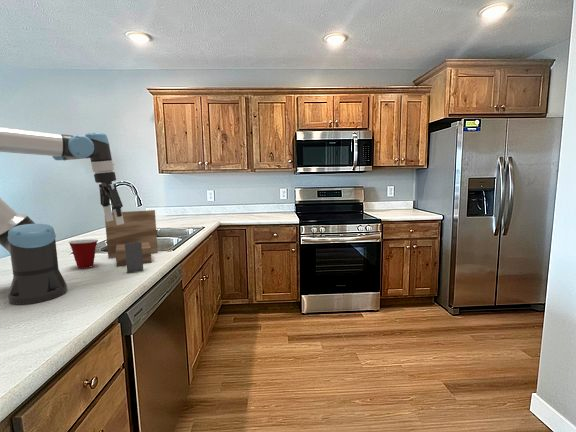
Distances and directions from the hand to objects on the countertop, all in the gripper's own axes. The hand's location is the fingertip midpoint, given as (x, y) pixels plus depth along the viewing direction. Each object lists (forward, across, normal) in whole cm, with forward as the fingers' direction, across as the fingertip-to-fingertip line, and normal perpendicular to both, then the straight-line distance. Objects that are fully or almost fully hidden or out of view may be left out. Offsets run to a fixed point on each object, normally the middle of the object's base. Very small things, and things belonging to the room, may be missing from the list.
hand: (115, 222), depth 130 cm
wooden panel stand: (+21, +10, -8) cm, 25 cm away
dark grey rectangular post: (+20, -10, -1) cm, 22 cm away
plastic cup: (+19, +13, +11) cm, 26 cm away
